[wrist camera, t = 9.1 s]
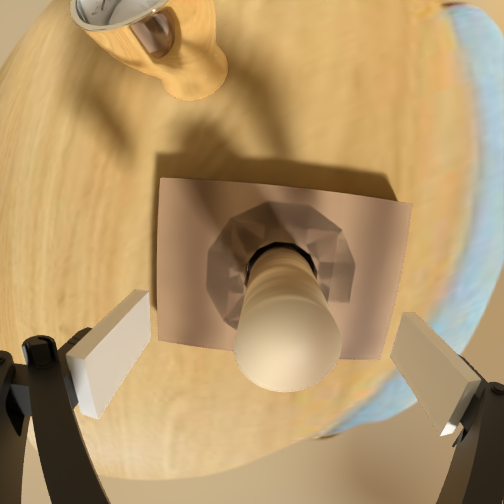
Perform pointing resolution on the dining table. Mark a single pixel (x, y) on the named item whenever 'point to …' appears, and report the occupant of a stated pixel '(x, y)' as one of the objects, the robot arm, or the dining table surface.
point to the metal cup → (159, 40)
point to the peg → (285, 324)
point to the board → (266, 234)
